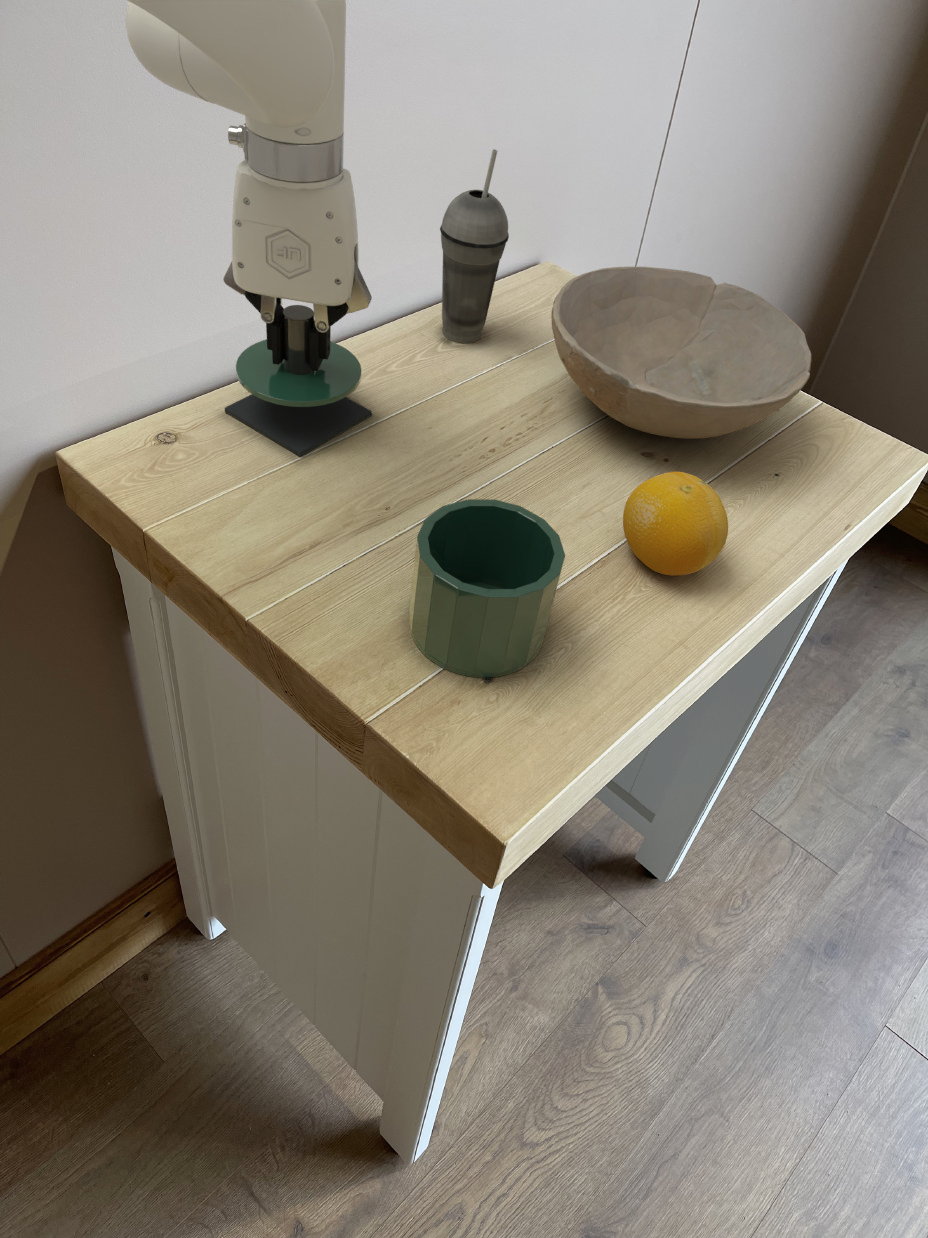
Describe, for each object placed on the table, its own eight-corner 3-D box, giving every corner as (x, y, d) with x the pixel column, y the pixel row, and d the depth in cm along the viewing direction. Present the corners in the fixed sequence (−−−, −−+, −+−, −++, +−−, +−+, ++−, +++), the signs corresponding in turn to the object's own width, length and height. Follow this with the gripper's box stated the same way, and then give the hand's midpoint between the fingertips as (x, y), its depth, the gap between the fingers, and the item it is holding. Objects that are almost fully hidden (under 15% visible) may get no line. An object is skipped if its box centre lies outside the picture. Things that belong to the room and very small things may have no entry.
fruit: (728, 566, 81) (759, 494, 75) (676, 607, 76) (705, 533, 71) (648, 515, 85) (672, 443, 79) (594, 551, 80) (616, 477, 75)
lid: (210, 375, 86) (203, 308, 81) (298, 333, 93) (297, 269, 88) (300, 428, 81) (299, 360, 77) (386, 380, 88) (389, 315, 84)
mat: (224, 412, 88) (224, 407, 88) (298, 374, 95) (298, 370, 94) (300, 457, 85) (300, 452, 85) (371, 415, 91) (372, 410, 91)
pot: (381, 628, 71) (387, 545, 65) (464, 562, 77) (476, 481, 71) (491, 700, 67) (508, 620, 61) (568, 625, 74) (591, 545, 68)
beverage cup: (455, 310, 108) (476, 127, 94) (506, 333, 105) (535, 149, 91) (417, 331, 103) (433, 142, 89) (469, 356, 101) (494, 166, 87)
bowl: (816, 411, 101) (854, 328, 94) (716, 524, 85) (752, 433, 78) (612, 322, 110) (632, 240, 103) (486, 408, 94) (500, 318, 87)
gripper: (177, 151, 70) (200, 366, 83) (388, 186, 70) (377, 396, 83) (209, 119, 75) (225, 326, 88) (405, 152, 75) (392, 354, 88)
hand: (299, 358), depth 86 cm, fingers closed on lid, 2 cm apart
